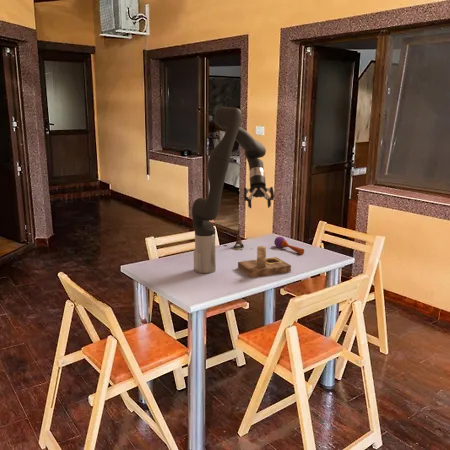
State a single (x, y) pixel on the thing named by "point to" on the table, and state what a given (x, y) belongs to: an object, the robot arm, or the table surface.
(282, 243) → the maraca
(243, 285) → the table surface
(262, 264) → the pin
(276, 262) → the pin board
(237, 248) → the eiffel tower figurine
